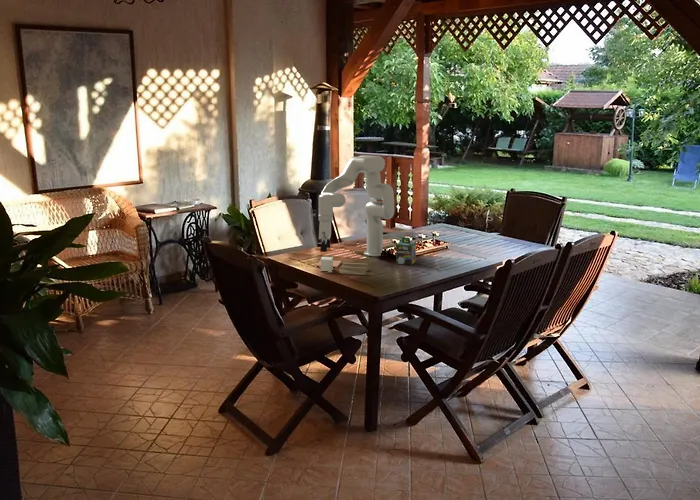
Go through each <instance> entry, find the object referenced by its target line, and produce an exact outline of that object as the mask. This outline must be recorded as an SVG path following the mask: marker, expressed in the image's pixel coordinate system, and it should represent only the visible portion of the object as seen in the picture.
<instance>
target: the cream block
mask: <svg viewBox="0 0 700 500" xmlns="http://www.w3.org/2000/svg"><path fill="white" fill-rule="evenodd" d="M320 260H321V267H320V272H321V271H328V272H327V273H333V271H332V270H334V268H333V261H334V257H333V256H322V257H320Z"/></svg>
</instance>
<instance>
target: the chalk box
mask: <svg viewBox="0 0 700 500" xmlns="http://www.w3.org/2000/svg"><path fill="white" fill-rule="evenodd" d="M406 240H407V241H406ZM416 244H417V242H416V241H411V238H410V237H404V236H403V237H401V240H400V241H399V242H398V243H397V244H396V247H395V248H396V258H395V259H396V265H404V266H405V265H407V266H412V265H413V264H415V263H416V262H417V258H416V257H417V250H416V249H417V247H416V246H417V245H416Z"/></svg>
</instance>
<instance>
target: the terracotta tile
mask: <svg viewBox="0 0 700 500" xmlns="http://www.w3.org/2000/svg"><path fill="white" fill-rule="evenodd" d="M340 265H342V260H333V267H335V268H334V269H338V268H339V267H340ZM316 266H321V259H320V260H319V261H318V262H317V263H316V265H315V267H316ZM338 266H339V267H338Z"/></svg>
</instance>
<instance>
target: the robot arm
mask: <svg viewBox="0 0 700 500" xmlns="http://www.w3.org/2000/svg"><path fill="white" fill-rule="evenodd" d="M385 165H386V162H385V158H383V156H379V155H369V154H366V155H365V154H360V155H358V156H352V157H350V158H349V159H348V161H347V163H346V164H345V166H344V168H343V170H342V171H341V173H340V174H339V175H338V176H337V177H335V178H333V179H332V180H331V181H329V182H328V183H327V184H326V185H325V186H324V188H323V190H321V193H320V194H319V195H318V221H319V226H318V227H319V228H318V240H320V252H323V253H327V251H328V249H330V248H331V235H332V222H333V220H334V208H340V207H343V206H345V204H346V201H347V199H346V197H345V195H344V194H343V193H341V192H337V191H338V190H341V189H344V188H348V187H351V186H352V185H353V184H354V183H355V181H356V180H357V177H358V176H359V174H360V173H364V176H365V186H366V195H367V198H369V199H370V201H368V202H367V203H366V205H365V206H364V207H365V208H364V212H365V213H364V214H365V217H366V250H364V251H363V255H365V256H368V257H369V256H370V257H381V253H382V251H384V250H383V245H384V244H383V241H384V240H383V237H384V233H383V232H384V224H383V220H382V219H384V220H390V219H392V218H393V217H394V215H395V197H394V196H395V195H394V189H393V187H392V186H391V185H390V184H387V183H382V180H381V173H380V172H382V171H383V170H384V168H385ZM327 248H328V249H327Z"/></svg>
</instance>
